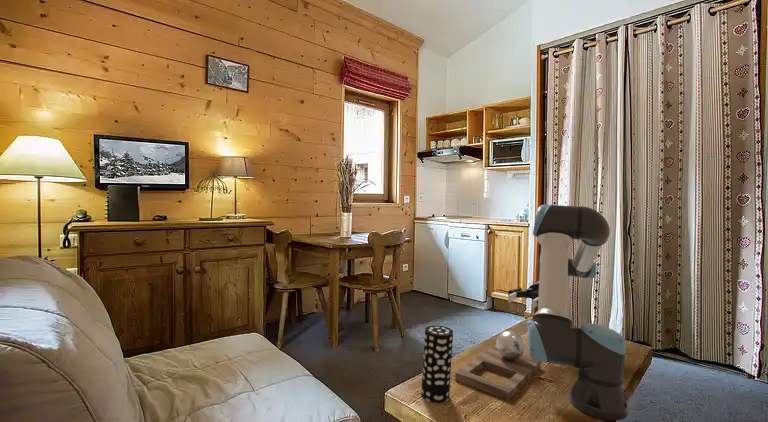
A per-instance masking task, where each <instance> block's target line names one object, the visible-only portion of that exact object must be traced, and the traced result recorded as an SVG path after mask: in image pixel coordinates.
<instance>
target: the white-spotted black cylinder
mask: <svg viewBox="0 0 768 422" xmlns="http://www.w3.org/2000/svg"><path fill="white" fill-rule="evenodd" d="M453 340H454V331H453V330H452V329H451V328H450V327H448V326H444V325H433V324H432V325H429V326H426V327H425V329H424V342H423V358H422V359H423V360H422V361H423V363H422V372H421V373H422V376H421V391H420V392H421V394H420V395H421V398H422V399H424V400H425V401H427V402H429V403H432V404H433V403H434V404H443V403H446V402H448V401H449V400H450V389H451V388H450V386H451V373H452V371H451V370H452V357H453V354H452V353H453V342H454V341H453Z"/></svg>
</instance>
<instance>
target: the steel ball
mask: <svg viewBox="0 0 768 422" xmlns="http://www.w3.org/2000/svg"><path fill="white" fill-rule="evenodd" d="M495 343H496V346H495V347H496V348H497V350H498V352H499V353H500V354H501V355H502V356H503V357H504V358H506V359H509V360H515V359H518V358H520V357H521V356H524V353H525V351H526V342H525V339H524V338H523V336H522V335H521V334H520V333H519V332H516V331H514V330H504V331H503V332H501V333H499V335H498V336H497V338H496V342H495Z"/></svg>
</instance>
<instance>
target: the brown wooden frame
mask: <svg viewBox="0 0 768 422" xmlns="http://www.w3.org/2000/svg"><path fill="white" fill-rule="evenodd" d="M541 362H542V361H539V360H535V359H533V358H532V357H527V356H524V355H522V356H521V357H520V358H518V359H515V360H509V359H506V358H504V357H503V356H502V355H501V354H500V353H499V352H498V350H497V346H491V347H490V348H489V349H487V350H486V351H484V352H483V353H481V354H480V355H479V356H477V357H476V358H474V359H473V360H471V361H469V362H468V363H467V364H465V365H463V367H461V368H459V369H458V370H456V371H455V377H454V379H455V381H458V382H460V383H462V384H465V385H468V386H471V387H473V388H475V389H478V390H480V391H484V392H486V393H487V394H491V395H493V396H496V397H499V398H501V399H504V400H506V401H510V400H511V399H512V398H513V397H514V396H515V395H516V394H517V393H518V392H519V390H521V389H522V388H523V387H524V386H525V385H526V384H527V382H529V380H530V379H531V378H532V377H534V375H535V374H536V373H537V372H538V371H539V370H540V369H541ZM482 369H485V370H488V371H491V372H494V373H497V374H500V375H502V376H504V377H505V376H506V377H508V378H509V379H508V381H506V382H505V383H504V384H501V383H498V382H495V381H493V380H490V379H487V378H485V377H482V376H480V375H477V373H478V372H480V371H481V370H482Z"/></svg>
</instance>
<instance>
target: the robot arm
mask: <svg viewBox="0 0 768 422" xmlns="http://www.w3.org/2000/svg"><path fill="white" fill-rule="evenodd" d="M610 231H611V230H610V225H609V223H608V221H607V219H606V218H605V217H604V216H603V214H601V213H600V212H599V211H598V210H596V209H594V208H592V207H588V206H582V205H581V206H575V205H561V204H560V205H559V204H558V205H557V204H556V205H555V204H553V203H551V204H542V205H540V206H538V208H537V210H536V215H535V220H534V224H533V231H532V235H533V236H534V237H536V242H537V243H538V244H539V245H540V254H539V263H538V277H537V281H536V282H534V283H533V284H531V285H530V286H529V287H528V288H526V289H523V288H522V287H518V288H514V289H510V290H508V292H507V293H508V294H507V295H508V297H507V298H508V299H507V302H508V303H511V302H514V301H516V300H517V299H521V298H523V299H531V300H532V302H531V308H532V309H535V308H536V307H537V311H536V312H534V313H533V314H532V317H531V318H532V319H529V320H527V322H526V323H527V326H526V327H527V342H528V343H527V344H528V353H529V355H530V358H532V359H535V360H538V361H541V362H544V363H546V364H547V363H549V364H555V365H559V366H565V367H570V368H575V369H577V375H576V378H575V380H574V382H573V385H572V387H571V388H570V390H569V401H570V403H571V404H572V405H573V406H574V407H575V408H576V409H578V410H579V411H581V412H583V413H584V414H587V415H590V416H592V417H595V418H597V419H603V420H608V421H621V420H625V419H626V418H627V417H628V412H629V405H628V403H627V398H626V394H625V390H624V387H623V384H624V383H623V382H624V375H625V361H626V355H627V349H626V348H627V347H626V344H627V343H626V340H625V337H624V336H623V335H622V334H620V333H619V332H618V331H616V330H613V329H612V328H610V327H607V326H604V325H601V324H596V323H592V322H583V323H582V324H581V325H580V328H579V327H575V326H573V320H572V318H571V317H569V315H568V288H569V287H568V284H569V283H568V282H569V281H568V279H569V278H568V277H573V278H583V279H594V278H596V275H597V263H596V262H595V260H596V259H597V256H598V254H599V251H600V249H601V247H602V246H604V245H605V244H606V243H607V241H608V239H609V238H610V233H611V232H610ZM574 240H578V243H577V246H576V249H575V252H574V255H573V258H569V247H570V246H571V245H573V244H574Z"/></svg>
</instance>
